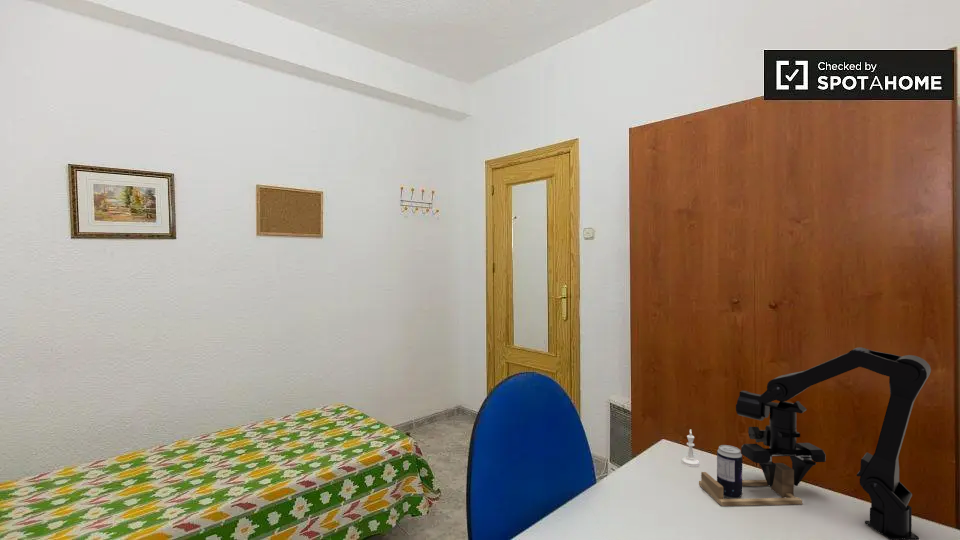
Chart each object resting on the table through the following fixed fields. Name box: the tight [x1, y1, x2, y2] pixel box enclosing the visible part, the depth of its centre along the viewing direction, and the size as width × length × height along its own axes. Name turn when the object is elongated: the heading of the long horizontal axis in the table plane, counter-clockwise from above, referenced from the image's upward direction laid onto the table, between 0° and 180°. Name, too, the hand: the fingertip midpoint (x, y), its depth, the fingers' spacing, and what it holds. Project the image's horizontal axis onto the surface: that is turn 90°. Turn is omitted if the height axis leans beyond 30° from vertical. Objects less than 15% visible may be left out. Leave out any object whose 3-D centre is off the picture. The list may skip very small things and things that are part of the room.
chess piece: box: [681, 429, 701, 468], centre depth 132 cm, size 5×5×10 cm
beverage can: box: [716, 444, 743, 499], centre depth 113 cm, size 6×6×12 cm
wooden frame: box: [698, 462, 803, 507], centre depth 113 cm, size 21×10×7 cm, turn 92°
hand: (782, 485), depth 114 cm, fingers open, 6 cm apart
